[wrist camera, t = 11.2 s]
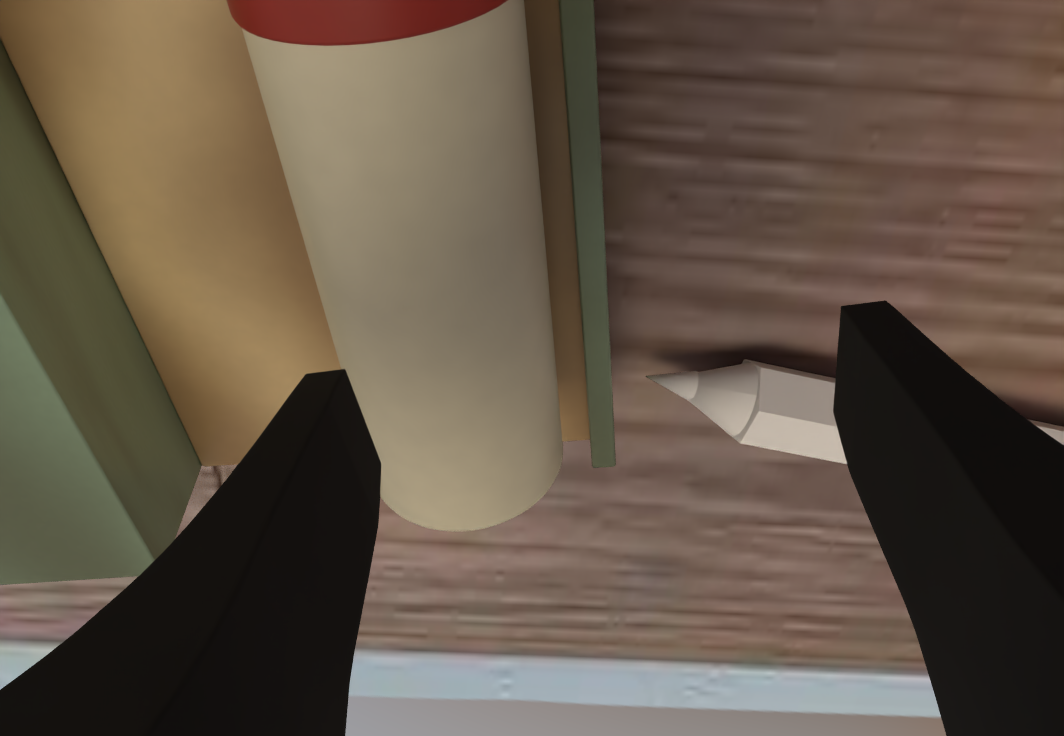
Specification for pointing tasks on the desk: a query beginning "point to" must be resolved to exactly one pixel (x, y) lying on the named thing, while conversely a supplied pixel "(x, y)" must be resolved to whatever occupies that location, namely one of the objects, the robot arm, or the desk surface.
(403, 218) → the red-banded cream cylinder
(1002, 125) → the desk surface
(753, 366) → the marker
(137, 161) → the tray with green block
